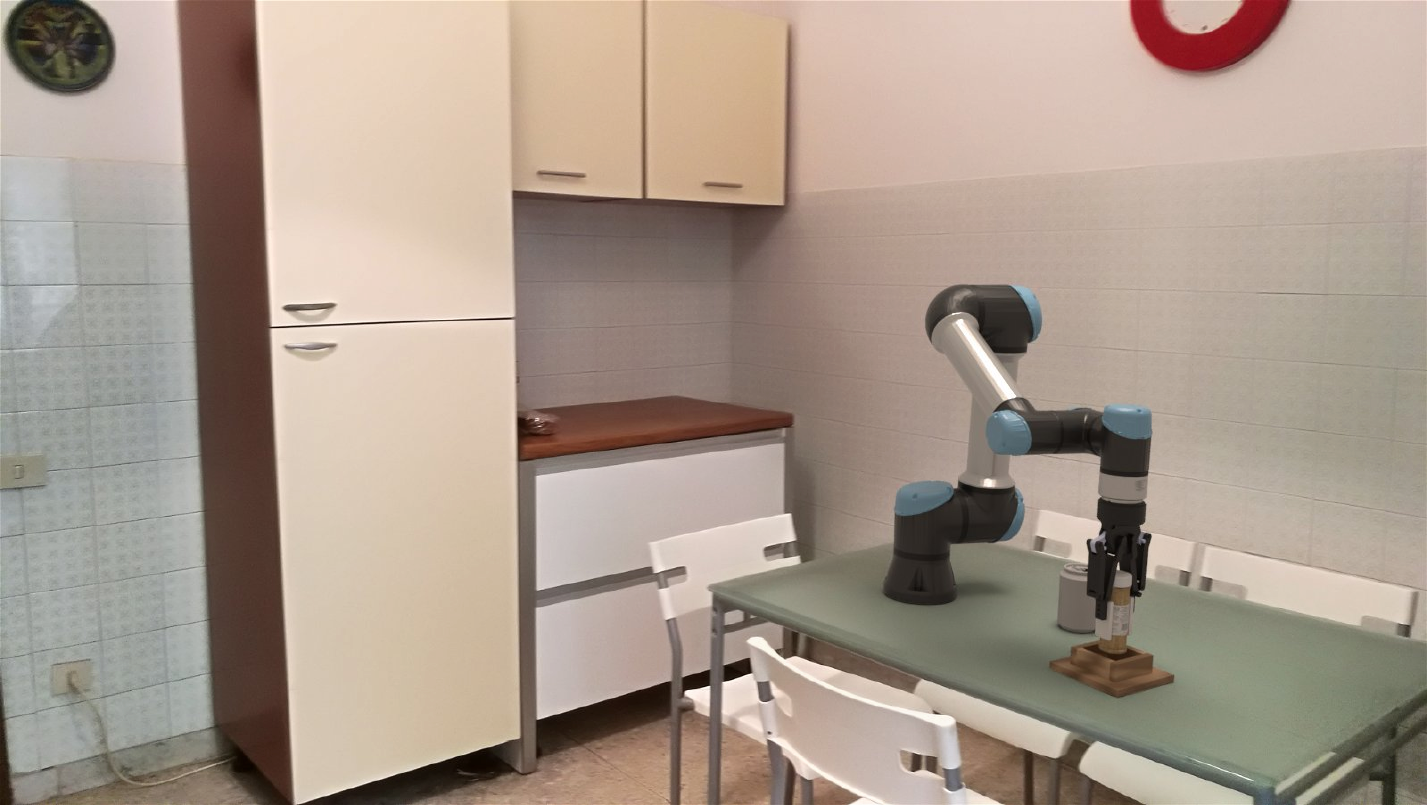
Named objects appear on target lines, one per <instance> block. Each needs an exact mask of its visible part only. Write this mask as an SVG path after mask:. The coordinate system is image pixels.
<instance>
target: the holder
mask: <svg viewBox="0 0 1427 805" xmlns="http://www.w3.org/2000/svg"><path fill="white" fill-rule="evenodd" d="M1099 641H1100V639H1098V640H1094V641H1088V642H1085V643H1081V644H1076V645H1073V646H1070V656H1065V657H1062V658H1057V659H1054V660H1050V661H1049V662H1048V668H1049V669H1050V670H1052V671H1054V672H1057V673H1059V674H1061V675H1064V676H1066V677H1069V678H1071V679H1073V680H1075V681H1078V682H1080V683H1082V684H1085V685H1087V686H1089V687H1091V688H1094V689H1096V690H1098V691H1100V692H1103V693H1105V694H1107V695H1110V696H1112V697H1114V698H1116V699H1118V698H1121V697H1125V696H1129V695H1132V694H1136V693H1139V692H1142V691H1146V690H1149V689H1153V688H1156V687H1159V686H1161V687H1162V686H1164V685H1166V684H1171V683H1174V682H1175V674H1173V673H1171V672H1168V671H1166V670H1163V669H1160V668H1159V667H1155V666H1154V654H1152V653H1148V652H1146V651H1145V650H1141V649H1139V648H1136V647H1132V646H1131V645H1128V644H1126V648H1127V651H1126V652H1125V653H1123V654H1111V653H1107V652H1104V651H1102V650H1100V649H1099V647H1098V645H1099Z"/></svg>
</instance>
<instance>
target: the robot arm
mask: <svg viewBox="0 0 1427 805" xmlns="http://www.w3.org/2000/svg"><path fill="white" fill-rule="evenodd" d="M1042 326H1043V314H1042V308H1041V305H1040V303H1039V300H1038V299H1037V296H1036V295H1035V293H1034V292H1033V291H1032V290H1031V289H1030V288H1028V287H1026V286H1023V285H1015V284H1014V285H1013V284H1005V283H1004V284H968V283H963V284H962V283H960V284H959V283H958V284H954V285H951V286H948V287H946V288H944V289H943V290H941V291H939V293H938V294H936V295H935V296H934V298H933V299H932V300H931V302H930V303H929V304H928V307H927V309H926V313H925V316H924V329H925V332H926V336H927V338H928V340H929V342H930V343H931V345H932V347H933V348H934V349H935V351H937V353H940V354H942V355H944V356H945V357H946V358H947V359H948V361H949V362H950V364H951V365H952V367H953V368H954V370H955V371H956V373H957V374H958V376H959V377H960V379H961V380H962V382H963V383H964V385H965V386H966V387H967V389H968V391H969V393H970V394H971V406H970V407H971V408H970V418H969V420H970V421H969V431H968V432H969V433H968V445H967V458H966V469H965V470H964V472H962V473H961V474H959V475H958V480H957V486H956V487H955V488H954V487H953V484H952V483H950V482H947V481H944V480H921V481H914V482H909V483H906V484H905V485H902V486H901V487H900V488H899V489H897V492H896V494H895V503H894V507H893V512H894V523H893V524H894V525H893V550H892V551H893V553H892V554H893V555H892V559H891V561H890V564H889V566H888V571H887V574H886V576H885V577H884V580H883V588H882V589H883V594H885V596H887V597H889V598H891V599H892V600H895V601H899V602H903V603H909V604H915V605H941V604H942V605H943V604H947V603H950V602H953V601H955V600H956V599H957V597H958V584H957V582H956V579H955V574H954V571H953V566H952V563H951V557H950V556H951V545H965V544H981V543H982V544H996V543H1000V542H1006V541H1011V540H1012V539H1014V537H1015V536H1017V535H1018V534H1019V533H1020V530H1021V529H1022V526H1023V523H1024V519H1025V512H1026V511H1025V510H1026V507H1025V503H1024V496H1023V494H1022V492H1021V491H1020V489H1018V488H1017V487H1016V481H1015V480H1014V479H1013V478H1012V477H1011V475H1010V473H1009V471H1010V462H1011V456H1013V457H1021V456H1037V455H1070V454H1071V455H1075V454H1086V455H1087V454H1088V455H1093V456H1096V457H1099V458H1100V460H1099V473H1098V474H1099V475H1098V486H1097V494H1098V495H1099V496H1101V497H1099V498H1098V499H1097V504H1096V505H1097V507H1096V519H1097V520H1098V521H1099V522H1100V524H1101V526H1100V529H1099V531H1098V536H1097V537H1095V538H1094V539H1093V538H1087V540H1086V542H1085V543H1086V548H1087V552H1088V555H1087V556H1088V557H1087V565H1088V572H1087V596H1090V597H1093V598H1095V600H1096V607H1095V609H1096V610H1095V618H1096V627H1095V629H1094V631H1095V633H1094V636H1096V637H1098V638H1099V639H1100V638H1103V639H1106V640H1111V638H1112V623H1113V608H1114V602H1113V601H1110V598H1111V594H1112V589H1113V584H1114V580H1115V575H1116V570H1121V571H1126V572H1128V573H1130V574H1131V575H1132V585H1131V588H1130V599H1129V603H1130V607H1129V621H1128V633H1127V637H1129V636H1132V635H1133V634H1132V632H1133V621H1134V612H1135V604H1136V598H1141V597H1142V595H1143V591H1145V589H1146V584H1147V571H1148V570H1147V569H1148V560H1149V549H1150V548H1149V547H1150V544H1151V541H1152V537H1153V534H1152V533H1150V532H1146V531H1143V530H1142V529H1141V526H1142V525H1144V524H1145V522H1146V519H1147V518H1146V516H1147V503H1146V501H1145V500H1146V499H1147V497H1148V485H1149V484H1148V482H1149V481H1148V479H1149V470H1150V459H1151V447H1152V436H1153V429H1152V426H1153V424H1152V421H1153V420H1152V419H1153V416H1152V415H1153V414H1152V413H1153V412H1152V411H1151V409H1150V408H1148V407H1146V406H1143V405H1139V404H1136V405H1135V404H1129V403H1111V404H1107V405H1106V406H1104V407H1103V411H1099V410H1095V409H1092V408H1091V407H1087V406H1086V407H1078V406H1072V407H1070V408H1068V409H1064V410H1063V409H1062V410H1059V409H1058V410H1038V409H1035V407H1034V406H1033V404H1032V403H1031V402H1030V401H1029V400H1028V398H1027V396H1025V394H1024V393H1023V391H1022V390H1021V389H1020V387H1019V386H1018V384H1017V381H1018V380H1017V379H1018V369H1019V361H1020V360H1021V359H1022V358H1023V357H1024V356H1026V354H1028V344H1031V343H1033V342H1034V341H1035V342H1036V340H1037V339H1038V338H1039V335H1040V334H1041V330H1042ZM1118 566H1119V567H1118ZM1118 568H1119V569H1118Z"/></svg>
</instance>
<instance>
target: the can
mask: <svg viewBox="0 0 1427 805" xmlns="http://www.w3.org/2000/svg"><path fill="white" fill-rule="evenodd" d="M1087 572H1088V563H1087V564H1086V563H1080V562H1079V563H1078V562H1076V563H1074V562H1070V563H1066V564H1064V565H1063V569H1062V570H1061V571H1060V572H1059V583H1058V597H1057V599H1058V600H1057V601H1058V602H1057V616H1056V618H1057V619H1056V622H1057V623H1058V625H1059V626H1060V627H1061V628H1062V629H1064V630H1066V631H1069V632H1072V633H1078V634H1085V633H1086V634H1087V633H1092V632H1094V631H1095V627H1096V618H1095V610H1096V609H1095V607H1096V600H1095V598H1093V597H1090V596H1087Z"/></svg>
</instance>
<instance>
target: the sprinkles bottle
mask: <svg viewBox="0 0 1427 805" xmlns="http://www.w3.org/2000/svg"><path fill="white" fill-rule="evenodd" d="M1131 585H1132V575H1131V574H1130V573H1128V572H1126V571H1121V570H1120V569H1117V570H1116V575H1115V580H1114V584H1113V589H1112V594H1111V598H1110V601H1113V602H1114V608H1113V623H1112V638H1111V640H1106V639H1103V638H1100V637H1099V640H1100V641H1099V645H1098V647H1099V649H1100V650H1102V651H1104V652H1107V653H1111V654H1123V653H1125V652H1126V651H1127V648H1126V645H1128V644H1127V641H1128V635H1127V633H1128V621H1129V607H1130V603H1129V599H1130V588H1131Z"/></svg>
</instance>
